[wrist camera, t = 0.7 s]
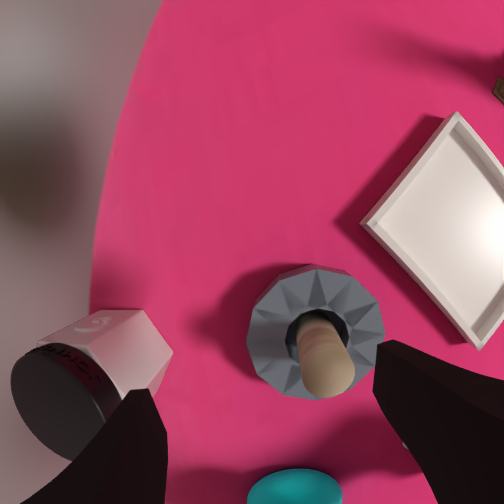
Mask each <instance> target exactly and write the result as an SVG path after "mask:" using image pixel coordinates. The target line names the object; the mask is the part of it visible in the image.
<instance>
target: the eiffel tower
mask: <svg viewBox="0 0 504 504" xmlns="http://www.w3.org/2000/svg"><path fill="white" fill-rule="evenodd" d="M492 93H493V94H494V95H495V96H496V97H497V98H498V99H499V100H500V101H501V102H502V103H503V104H504V79H502V78H501V77H500V76H499V77H498V80H497V82H496V85H495V87H494V90H493V92H492Z"/></svg>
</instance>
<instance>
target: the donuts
mask: <svg viewBox="0 0 504 504" xmlns="http://www.w3.org/2000/svg"><path fill="white" fill-rule="evenodd" d="M342 499H343V494H342V490H341V487H340V485H339V484H338V483H337V481H336V480H335V479H333V478H332V477H331V476H329V475H327V474H325V473H323V472H320V471H316V470H311V469H288V470H282V471H278V472H275V473H272V474H270V475H267V476H265V477H264V478H262V479H261V480H259V481H258V482H257V483H256V484H255V485H254V486H253V487H252V488H251V490H250V492H249V494H248V497H247V504H342Z"/></svg>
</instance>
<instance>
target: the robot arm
mask: <svg viewBox="0 0 504 504" xmlns="http://www.w3.org/2000/svg"><path fill="white" fill-rule="evenodd" d="M373 393H374V395H375V397H376V400H377V402H378V404H379V406H380V408H381V410H382V411H383V413H384V415H385V417H386V418H387V420H388V421H389V422H390V424H391V425H392V427H393V428H394V430H395V431H396V433H397V434H398V435H399V437H400V438H401V440H402V445H403V446H404V447H405V448H407V449H408V450H409V451H410V452H411V454H412V455H413V457H414V458H415V459H416V461H417V463H418V464H419V466H420V467H421V469H422V471H423V473H424V475H425V477H426V479H427V481H428V483H429V485H430V487H431V489H432V491H433V493H434V495H435V498H436V500H437V502H438V504H504V380H500V379H496V378H492V377H488V376H484V375H481V374H478V373H475V372H472V371H469V370H466V369H463V368H460V367H458V366H455V365H452V364H450V363H447V362H445V361H443V360H440V359H438V358H436V357H433V356H431V355H429V354H426V353H424V352H422V351H420V350H417V349H415V348H413V347H411V346H408V345H406V344H404V343H401V342H399V341H396V340H390V341H386V342H383V343H380V344H377V352H376V363H375V373H374V383H373ZM167 466H168V444H167V431H166V429H165V427H164V425H163V422H162V420H161V418H160V415H159V413H158V410H157V408H156V406H155V403H154V401H153V398H152V396H151V393H150V390H149V388H145V389H133V390H130V391H129V392H128V393H127V394H126V396H125V397H124V398H123V400H122V401H121V402H120V404H119V405H118V406H117V408H116V409H115V411H114V412H113V413H112V415H111V416H110V417H109V419H108V420H107V421H106V422H105V424H104V425H103V426H102V428H101V429H100V430H99V431H98V433H97V434H96V435H95V437H94V438H93V439H92V440H91V441H90V442H89V443H88V445H87V446H86V447H85V448H84V449H83V450H82V452H81V453H80V454H79V455H78V456H77V457H76V458H75V459H74V460H73V461H72V463H70V464H69V465H68V466H67V467H66V468H65V469H64V470H63V471H62V472H61V473H60V474H59V475H58V476H57V477H55V478H54V479H53V480H52V481H51V482H50V483H48V484H47V485H46V486H44V487H43V488H42V489H40V490H39V491H38V492H36V493H35V494H34V495H32V496H31V497H30V498H28V499H27V500H25V501H23V502H22V503H20V504H164V501H165V489H166V478H167Z"/></svg>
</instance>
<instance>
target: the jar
mask: <svg viewBox="0 0 504 504" xmlns="http://www.w3.org/2000/svg"><path fill="white" fill-rule="evenodd" d="M172 356H173V351H172V349H171V348H170V347H169V345H168V344H167V343H166V341H165V340H164V339H163V337H162V336H161V334H160V333H159V332H158V330H157V329H156V327H155V326H154V325H153V323H152V322H151V320H150V319H149V318H148V316H147V315H146V313H145V312H144V311H143V310H99V311H97V312H95V313H93V314H91V315H89V316H87V317H85V318H83V319H81V320H79V321H77V322H75V323H74V324H71V325H69V326H67V327H65V328H64V329H61V330H60V331H58V332H55V333H53V334H52V335H49V336H47V337H46V338H44V339H42V340H40V341H38V343H37V348H35V349H33V350H31V351H30V352H28V353H26V354H25V355H24V356H23V357H21V358H20V359H19V360H18V361H17V362H16V363H15V365H14V367H13V369H12V373H11V391H12V395H13V399H14V402H15V404H16V407H17V409H18V411H19V413H20V415H21V417H22V419H23V420H24V422H25V423H26V425H27V426H28V428H29V429H30V430H31V431H32V433H33V434H34V435H35V436H36V437H37V438H38V439H39V440H40V441H41V442H42V443H43V444H44V445H45V446H46V447H48V448H49V449H51V450H52V451H53V452H55V453H56V454H58V455H60V456H62V457H63V458H65V459H68V460H71V461H73V460H74V459H75V458H76V457H77V456H78V455H79V454H80V453H81V452H82V450H83V449H84V448H85V447H86V446H87V445H88V443H89V442H90V441H91V440H92V439H93V438H94V437H95V435H96V434H97V433H98V431H99V430H100V429H101V428H102V426H103V425H104V424H105V422H106V421H107V420H108V419H109V417H110V416H111V415H112V413H113V412H114V411H115V409H116V408H117V406H118V405H119V404H120V402H121V401H122V400H123V398H124V397H125V396H126V394H127V393H128V392H129V391H130V390H133V389H145V388H149V390H150V393H151V396H152V397H153V396H154V395H155V393H156V392H157V391H158V389H159V386H160V384H161V382H162V379H163V377H164V374H165V372H166V370H167V367H168V365H169V363H170V360H171V358H172Z"/></svg>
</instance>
